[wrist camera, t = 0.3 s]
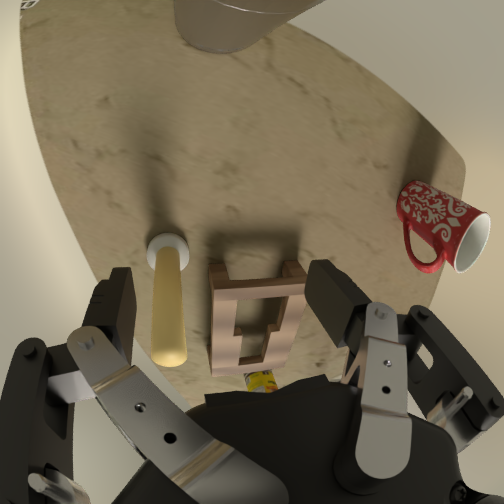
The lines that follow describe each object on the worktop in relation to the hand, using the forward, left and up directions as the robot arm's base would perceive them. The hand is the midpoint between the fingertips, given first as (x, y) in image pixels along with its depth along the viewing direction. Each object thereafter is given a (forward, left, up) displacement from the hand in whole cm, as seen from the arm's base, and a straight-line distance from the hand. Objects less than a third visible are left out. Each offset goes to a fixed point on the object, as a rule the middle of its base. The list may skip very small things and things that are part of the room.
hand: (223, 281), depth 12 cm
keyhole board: (+21, +8, -19) cm, 29 cm away
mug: (+3, +31, -19) cm, 36 cm away
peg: (+10, -3, -19) cm, 21 cm away
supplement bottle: (+39, +12, -19) cm, 45 cm away
